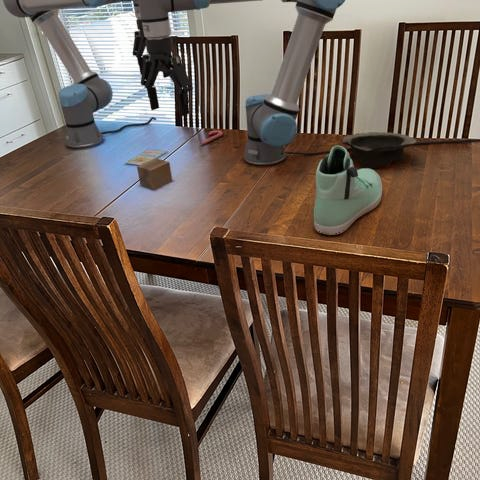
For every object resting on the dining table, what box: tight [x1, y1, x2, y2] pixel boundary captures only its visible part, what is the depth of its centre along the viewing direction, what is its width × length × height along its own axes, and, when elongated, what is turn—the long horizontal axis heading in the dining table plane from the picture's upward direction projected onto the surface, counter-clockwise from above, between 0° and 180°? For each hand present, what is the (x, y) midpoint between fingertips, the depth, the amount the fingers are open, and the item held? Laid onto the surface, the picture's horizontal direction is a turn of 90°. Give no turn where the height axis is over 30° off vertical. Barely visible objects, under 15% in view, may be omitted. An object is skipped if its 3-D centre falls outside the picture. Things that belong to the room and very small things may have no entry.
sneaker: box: [313, 145, 383, 236], centre depth 133 cm, size 14×35×20 cm, turn 152°
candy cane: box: [200, 130, 224, 146], centre depth 198 cm, size 6×15×2 cm, turn 145°
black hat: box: [341, 131, 418, 169], centre depth 166 cm, size 25×25×9 cm
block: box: [136, 157, 173, 191], centre depth 162 cm, size 7×8×7 cm
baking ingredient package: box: [124, 149, 166, 166], centre depth 185 cm, size 9×1×15 cm
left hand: (154, 75), depth 193 cm, fingers open, 13 cm apart
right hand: (170, 111), depth 146 cm, fingers open, 13 cm apart
